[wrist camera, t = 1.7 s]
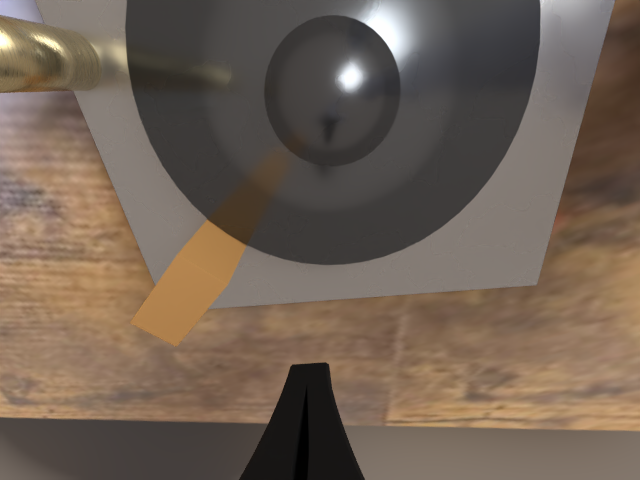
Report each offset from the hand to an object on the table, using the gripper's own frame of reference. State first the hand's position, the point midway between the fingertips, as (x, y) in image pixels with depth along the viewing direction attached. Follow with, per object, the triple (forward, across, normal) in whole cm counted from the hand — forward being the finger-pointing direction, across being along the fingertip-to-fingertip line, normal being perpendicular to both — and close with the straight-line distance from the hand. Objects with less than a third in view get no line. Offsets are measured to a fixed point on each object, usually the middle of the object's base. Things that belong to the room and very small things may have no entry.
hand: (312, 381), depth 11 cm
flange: (+5, 0, -8) cm, 10 cm away
